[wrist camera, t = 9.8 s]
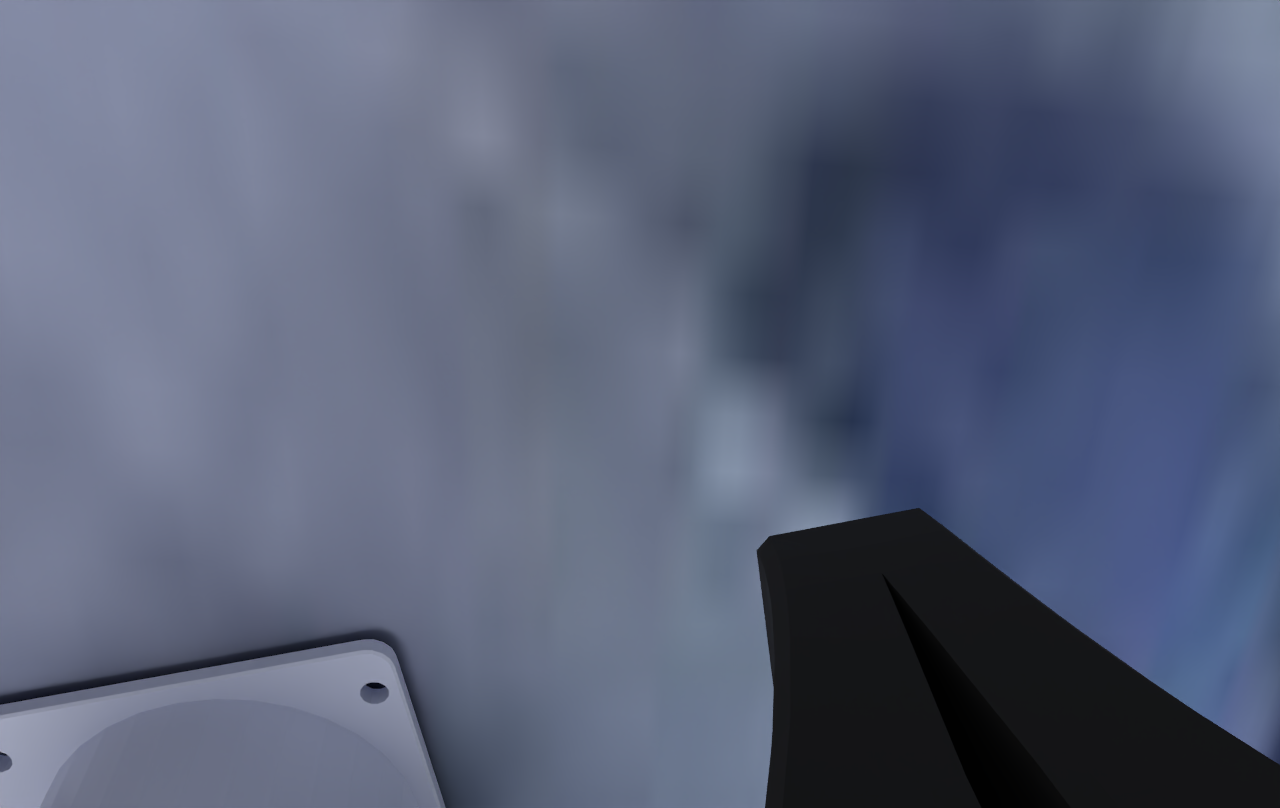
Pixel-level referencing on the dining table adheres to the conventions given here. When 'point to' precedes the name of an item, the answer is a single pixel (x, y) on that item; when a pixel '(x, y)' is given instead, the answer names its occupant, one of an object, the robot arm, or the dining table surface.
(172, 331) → the dining table surface
